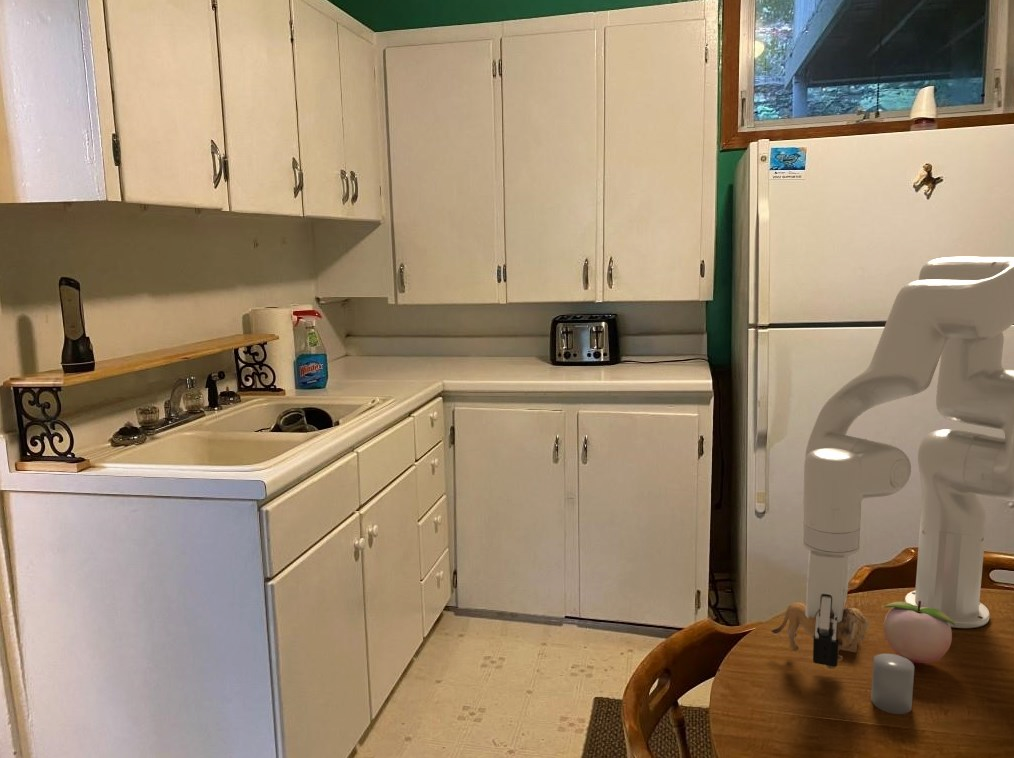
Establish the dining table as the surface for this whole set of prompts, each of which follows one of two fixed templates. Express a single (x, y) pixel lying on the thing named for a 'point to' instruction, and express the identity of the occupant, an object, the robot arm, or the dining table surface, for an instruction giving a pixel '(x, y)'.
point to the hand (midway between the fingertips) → (827, 650)
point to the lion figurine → (847, 629)
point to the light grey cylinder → (892, 683)
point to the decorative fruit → (917, 632)
